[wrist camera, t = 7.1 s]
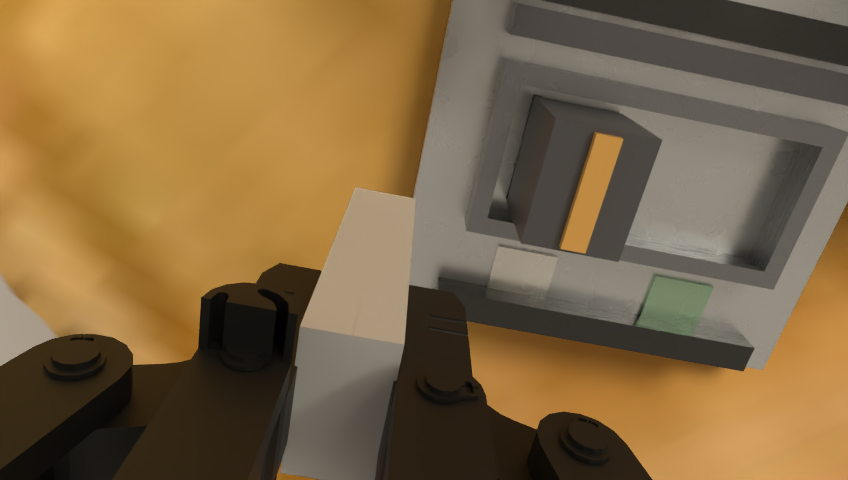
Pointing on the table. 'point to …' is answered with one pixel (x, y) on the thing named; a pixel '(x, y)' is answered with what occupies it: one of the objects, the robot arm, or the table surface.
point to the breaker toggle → (580, 178)
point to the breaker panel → (670, 177)
